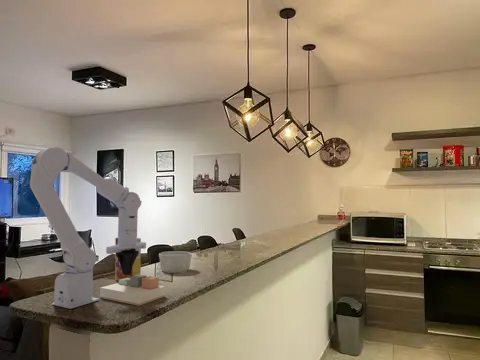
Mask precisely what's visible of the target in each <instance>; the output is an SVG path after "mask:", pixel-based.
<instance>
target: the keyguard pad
mask: <svg viewBox="0 0 480 360" xmlns="http://www.w3.org/2000/svg"><path fill="white" fill-rule="evenodd" d="M165 288H166V287H165V286H164V285H159V287H158V288H155V289H151V290H149V289H143V288H142V287H139V288H137V287H131V286H130V285H128V286H125V285H119V282H118V283H113V284H109V285H106V286H105V285H104V286H102V287H99V299H104V300H108V301H109V300H110V301H114V302H119V303H124V304H128V305H129V304H130V305H132V306H134V305H135V306H138V307H139V306H142V305H145V304H148V303H151V302H154V301H156V300H159V299H162V298H164V297H165V295H166V289H165Z"/></svg>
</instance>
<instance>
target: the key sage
mask: <svg viewBox="0 0 480 360" xmlns="http://www.w3.org/2000/svg"><path fill="white" fill-rule="evenodd" d="M118 283H119V285H125V286H128V285H130V278H124V279H120V280H118Z"/></svg>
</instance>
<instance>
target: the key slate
mask: <svg viewBox="0 0 480 360" xmlns="http://www.w3.org/2000/svg"><path fill="white" fill-rule="evenodd" d="M145 277H148V276H147V275H144V274H140V275H134V276H131V277H130V286H131V287H137V288H139V287H142V278H145Z"/></svg>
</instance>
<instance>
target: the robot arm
mask: <svg viewBox="0 0 480 360" xmlns="http://www.w3.org/2000/svg"><path fill="white" fill-rule="evenodd" d="M30 165H31V173H30V179H29V187H30V189H31V191H32V193H33V195H34V196H35V198H36V200H37V202H38V204H39V206H40V208H41V210H42V212H43V213H44V215H45V217H46V218H47V221H48V223H49V224H50V226H51V228H52V230H53V232H54V233H55V235H56V237H57V239H58V241H59V243H60V249H61V251H62V254H63V255H62V260H63V261H64V264H65V265H66V267H65V270H64V272H63V273H60V274H59V275H57V276H56V278H55V280H54V289H53V290H54V291H53V292H54V293H53V295H54V296H53V302H52V305H53V306H56V307H61V308H65V309H74V308H78V307H80V306H84V305H88V304H91V303H95V302H98V301H100V297H99V298H98V297H93V283H94V281H93V279H94V276H93V275H94V274H93V273H94V270H93V269H94V266H95V264H96V262H97V254H96V252H95V251H94V250H93V249H92V248H90V247H89V246H88V245H87V242H86V241H85V240H84V239H83V238H82V237H81V236H80V234H79V233H78V231H77V229H76V227H75V225H74V224H73V221H72V219H71V218H70V216H69V213H68V212H67V211H66V208H65V207H64V204H63V202H62V201H61V198H60V197H59V195H58V193H57V191H56V189H55V187H54V184H55V181H56V180H57V178H58V175H59V174H60V173H61V172H62V173H63V172H64V173H72V174H73V175H75V176H77V177H79V178H81V179H83V180H84V181H86V182H88V184H91V185H93V187H95V188H96V192H97V194H99V195H100V196H102V197H103V198H105V199H107V200H109V201H110V202H112V203H113V204H115V206H116V208H117V209H118V223H117V224H118V225H117V227H118V228H117V238H118V245H115V244H114V245H111V246H106V248H105V249H106V250H105V251H106V252H105V253H106V254H107V255H113V254H115V253H116V256H117V258H118V260H119V262H120V265H121V269H122V273H123V275H130V274H131V271H132V267H133V264H134V261H135V259H136V257H137V256H138V254H139V251H136V249H141V250H142V249H145V250H146V249H147V242H145V241H141V242H139V243H137V238H138V219H139V217H138V213H139V209H140V207H141V205H142V200H141V198H140V196H139V195H138V194H137V193H136V192H133V191H129V187H128V186H127V187H126V186H123V185H122V184H120V183H119V182H117V181H118V180H117V178H115V177H108V176H107V177H103V176H101V175H100V174H99V173H97V172H96V171H95V170H93V169H92V168H90V167H89V166H88V165H86V164H85V163H84V162H82V160H81V161H80V159H78V158H77V157H76V156H75V155H73V154H71V153H70V152H67V151H65V150H64V149H63V148H61V147H58V146H52V147H49V148H47V149H45V150H44V149H43V150H40V151H39V152H37V153H36V154H35V156H34V158H33V160H32V162H31V164H30ZM129 248H131V249H129ZM106 254H105V255H106Z"/></svg>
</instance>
